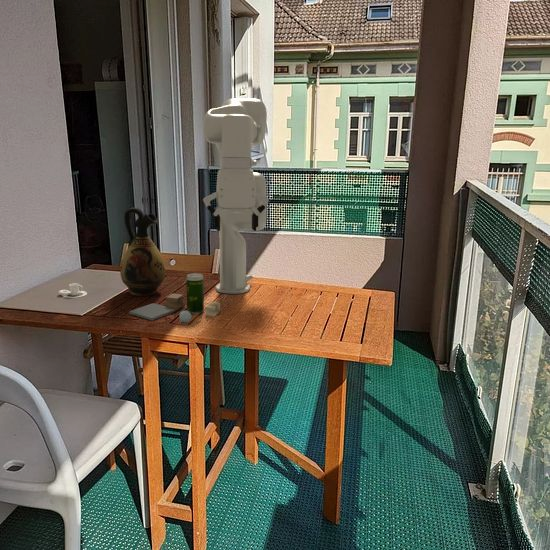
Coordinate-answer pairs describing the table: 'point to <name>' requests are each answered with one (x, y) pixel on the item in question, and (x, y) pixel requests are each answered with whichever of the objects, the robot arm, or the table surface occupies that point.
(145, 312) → the coaster
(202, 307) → the beer can
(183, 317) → the grey ball
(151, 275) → the ceramic jug
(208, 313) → the beech block
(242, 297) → the table surface
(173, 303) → the tan cube
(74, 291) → the teacup and saucer
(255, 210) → the robot arm
